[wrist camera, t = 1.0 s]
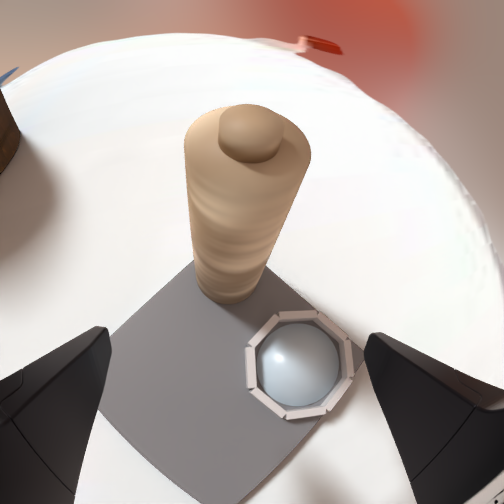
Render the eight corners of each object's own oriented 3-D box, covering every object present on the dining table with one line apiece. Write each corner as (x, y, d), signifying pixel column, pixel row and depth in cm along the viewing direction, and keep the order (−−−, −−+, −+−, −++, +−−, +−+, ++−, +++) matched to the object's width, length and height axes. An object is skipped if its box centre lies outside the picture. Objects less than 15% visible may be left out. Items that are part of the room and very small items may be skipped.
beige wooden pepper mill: (270, 274, 24) (341, 132, 10) (228, 317, 22) (258, 198, 8) (226, 235, 25) (248, 77, 11) (183, 273, 23) (155, 121, 9)
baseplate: (362, 355, 22) (373, 352, 21) (220, 512, 15) (221, 521, 13) (225, 235, 26) (227, 225, 24) (74, 375, 18) (65, 374, 17)
